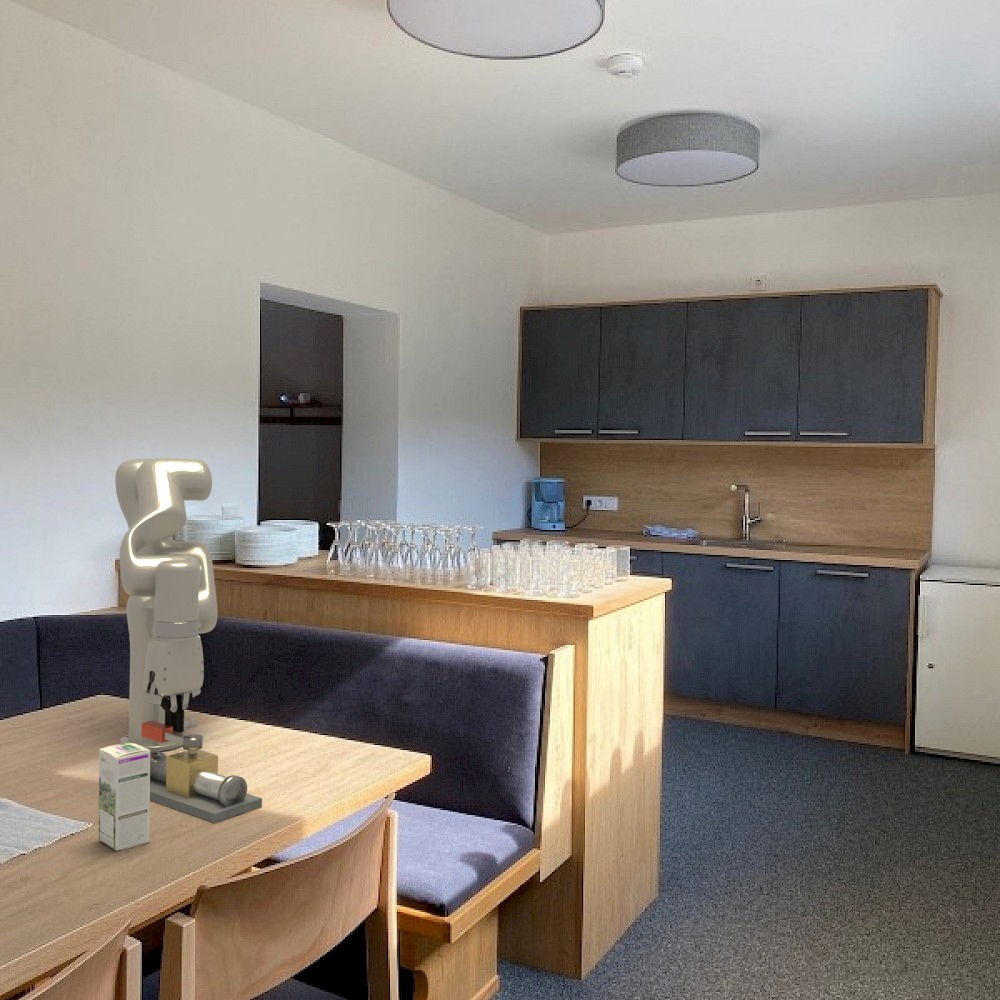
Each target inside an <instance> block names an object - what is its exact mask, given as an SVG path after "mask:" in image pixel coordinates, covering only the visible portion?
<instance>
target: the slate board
mask: <svg viewBox="0 0 1000 1000" xmlns="http://www.w3.org/2000/svg"><path fill="white" fill-rule="evenodd" d="M150 802H153V803H157V804H159V805H162V806H165V807H168V808H170V809H174V810H177V811H179V812H183V813H185V814H187V815H191V816H192V817H193V816H194V817H195V818H196V817H197V818H199V819H202V820H205V821H207V822H210V823H213V824H216V823H218V822H221V821H225V820H228V819H231V818H233V816H234V817H237V816H240V815H242V813H243V814H245V812H246V813H248V811H249V812H251V811H253V810H257V809H260V808H263V807H262V806H263V798H262V797H259V796H256V795H253V794H250V793H247V794H246V797H245V799H244V801H243V802H241V803H238V804H235V805H232V806H229V807H225V806H222V805H221V804H220V803H219V801H218V800H215V799H212V798H209V797H206V796H203V795H198V796H195V797H192V798H186V797H183V796H180V795H177V794H174V793H171V792H168V791H166V783H164V782H161V781H158V780H155V779H152V780H150ZM259 807H260V808H259ZM256 808H257V809H256ZM250 810H251V811H250ZM239 814H240V815H239ZM236 815H237V816H236ZM230 817H231V818H230Z"/></svg>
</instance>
